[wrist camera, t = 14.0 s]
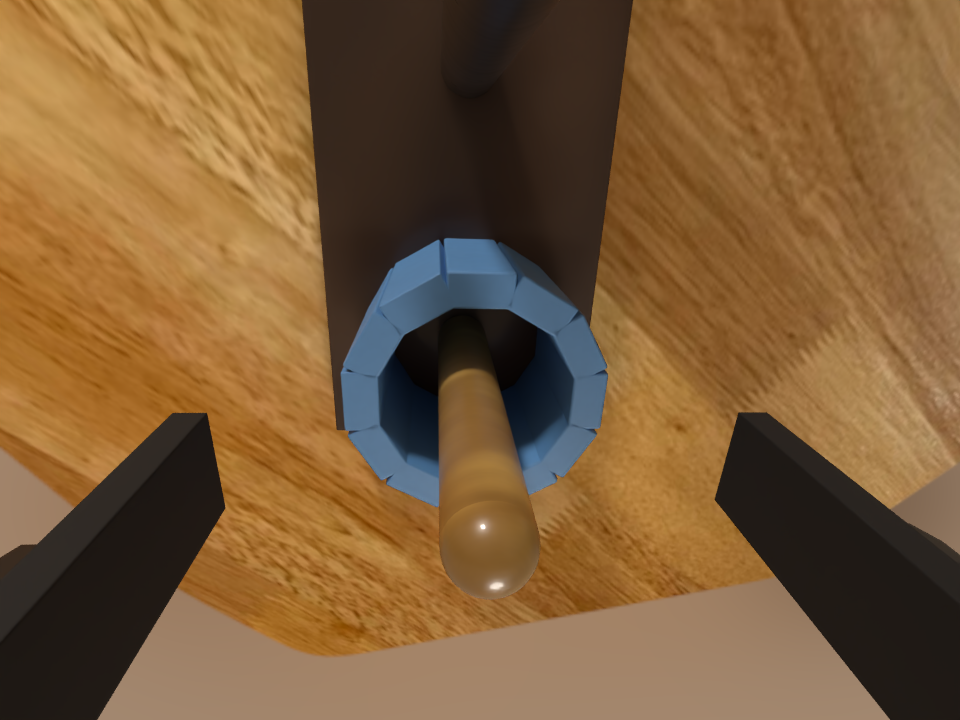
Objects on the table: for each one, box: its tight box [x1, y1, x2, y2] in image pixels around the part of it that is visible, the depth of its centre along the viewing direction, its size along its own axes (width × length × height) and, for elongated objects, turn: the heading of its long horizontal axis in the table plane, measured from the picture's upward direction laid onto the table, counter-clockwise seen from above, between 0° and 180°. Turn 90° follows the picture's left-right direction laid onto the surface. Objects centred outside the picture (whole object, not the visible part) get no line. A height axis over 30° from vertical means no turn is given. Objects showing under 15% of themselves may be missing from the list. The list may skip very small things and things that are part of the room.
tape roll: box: [341, 238, 608, 507], centre depth 18 cm, size 8×8×6 cm
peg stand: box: [302, 0, 633, 599], centre depth 14 cm, size 11×19×14 cm, turn 178°
